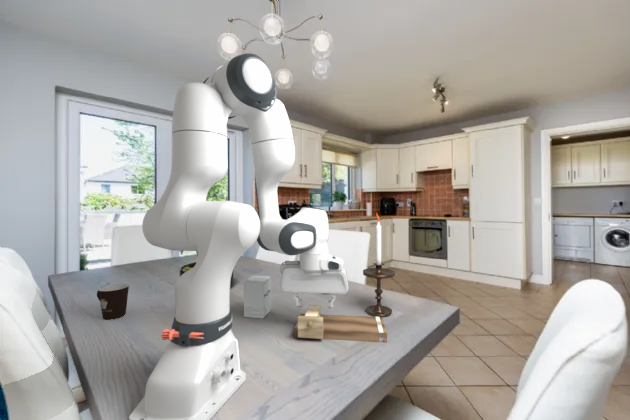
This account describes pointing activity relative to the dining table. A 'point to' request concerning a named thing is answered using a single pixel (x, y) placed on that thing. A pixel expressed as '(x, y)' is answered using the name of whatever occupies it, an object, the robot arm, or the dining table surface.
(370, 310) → the candlestick
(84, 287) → the dining table surface
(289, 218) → the robot arm
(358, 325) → the board
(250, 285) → the supplement box
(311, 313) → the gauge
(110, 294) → the coffee mug
